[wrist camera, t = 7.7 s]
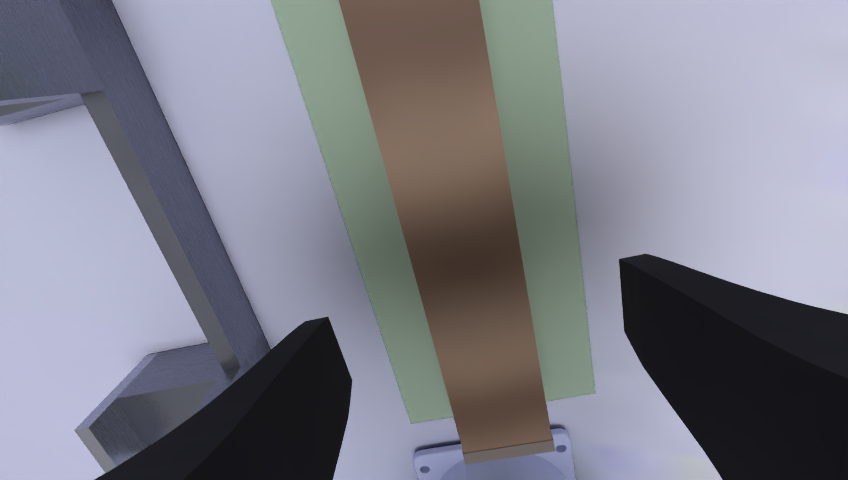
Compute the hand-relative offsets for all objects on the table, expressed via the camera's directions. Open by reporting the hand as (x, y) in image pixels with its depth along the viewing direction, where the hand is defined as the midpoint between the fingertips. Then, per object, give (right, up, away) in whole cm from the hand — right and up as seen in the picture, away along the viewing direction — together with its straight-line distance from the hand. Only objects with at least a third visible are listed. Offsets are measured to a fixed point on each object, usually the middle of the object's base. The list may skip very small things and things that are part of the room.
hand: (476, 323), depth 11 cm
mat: (0, +3, +7) cm, 8 cm away
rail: (0, +3, +6) cm, 7 cm away
